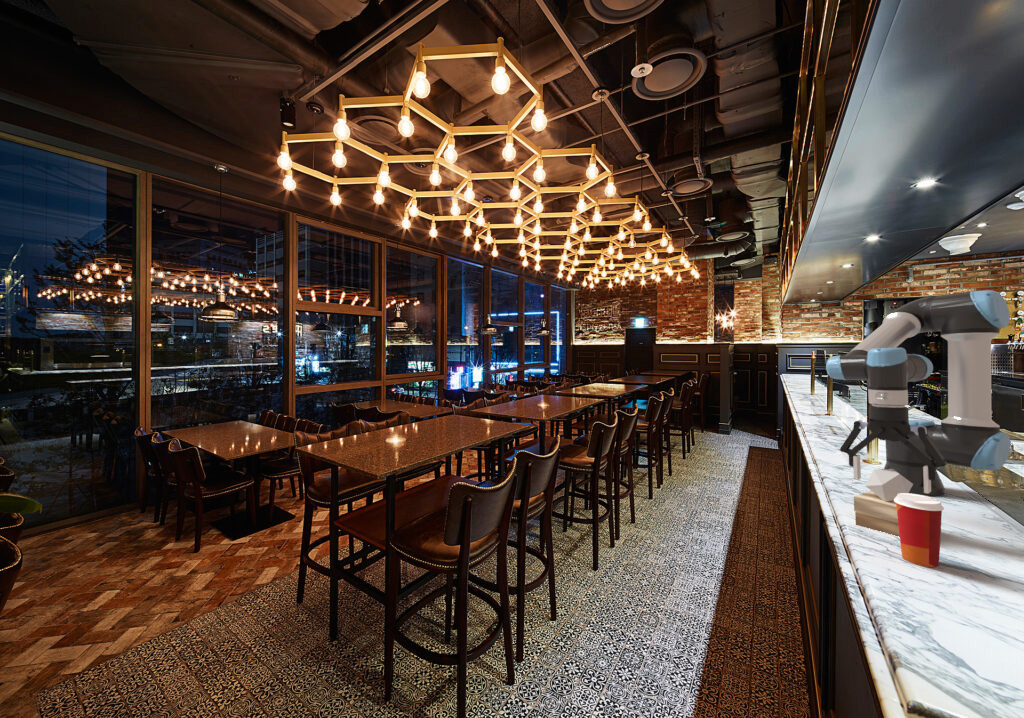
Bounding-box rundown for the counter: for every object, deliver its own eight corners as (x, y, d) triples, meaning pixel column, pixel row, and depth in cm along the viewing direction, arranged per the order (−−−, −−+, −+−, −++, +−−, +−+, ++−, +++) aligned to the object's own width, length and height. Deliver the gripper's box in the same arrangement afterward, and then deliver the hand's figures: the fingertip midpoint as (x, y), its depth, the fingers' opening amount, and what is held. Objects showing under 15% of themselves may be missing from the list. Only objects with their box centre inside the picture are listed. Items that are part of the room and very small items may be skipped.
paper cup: (930, 554, 87) (928, 493, 87) (956, 572, 80) (953, 506, 80) (886, 550, 90) (885, 490, 90) (908, 567, 83) (906, 502, 83)
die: (918, 510, 96) (924, 476, 99) (882, 492, 97) (889, 458, 100) (888, 510, 103) (894, 478, 106) (855, 493, 105) (862, 462, 108)
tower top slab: (874, 503, 109) (873, 489, 109) (928, 517, 99) (927, 502, 99) (854, 511, 104) (853, 496, 104) (909, 526, 94) (908, 510, 94)
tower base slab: (870, 517, 109) (870, 503, 109) (926, 531, 100) (925, 516, 100) (855, 526, 104) (855, 512, 104) (913, 542, 94) (912, 526, 94)
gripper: (824, 402, 110) (827, 476, 110) (955, 411, 89) (958, 502, 89) (835, 400, 114) (837, 471, 114) (962, 408, 93) (965, 495, 93)
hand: (890, 485), depth 102 cm, fingers open, 13 cm apart
